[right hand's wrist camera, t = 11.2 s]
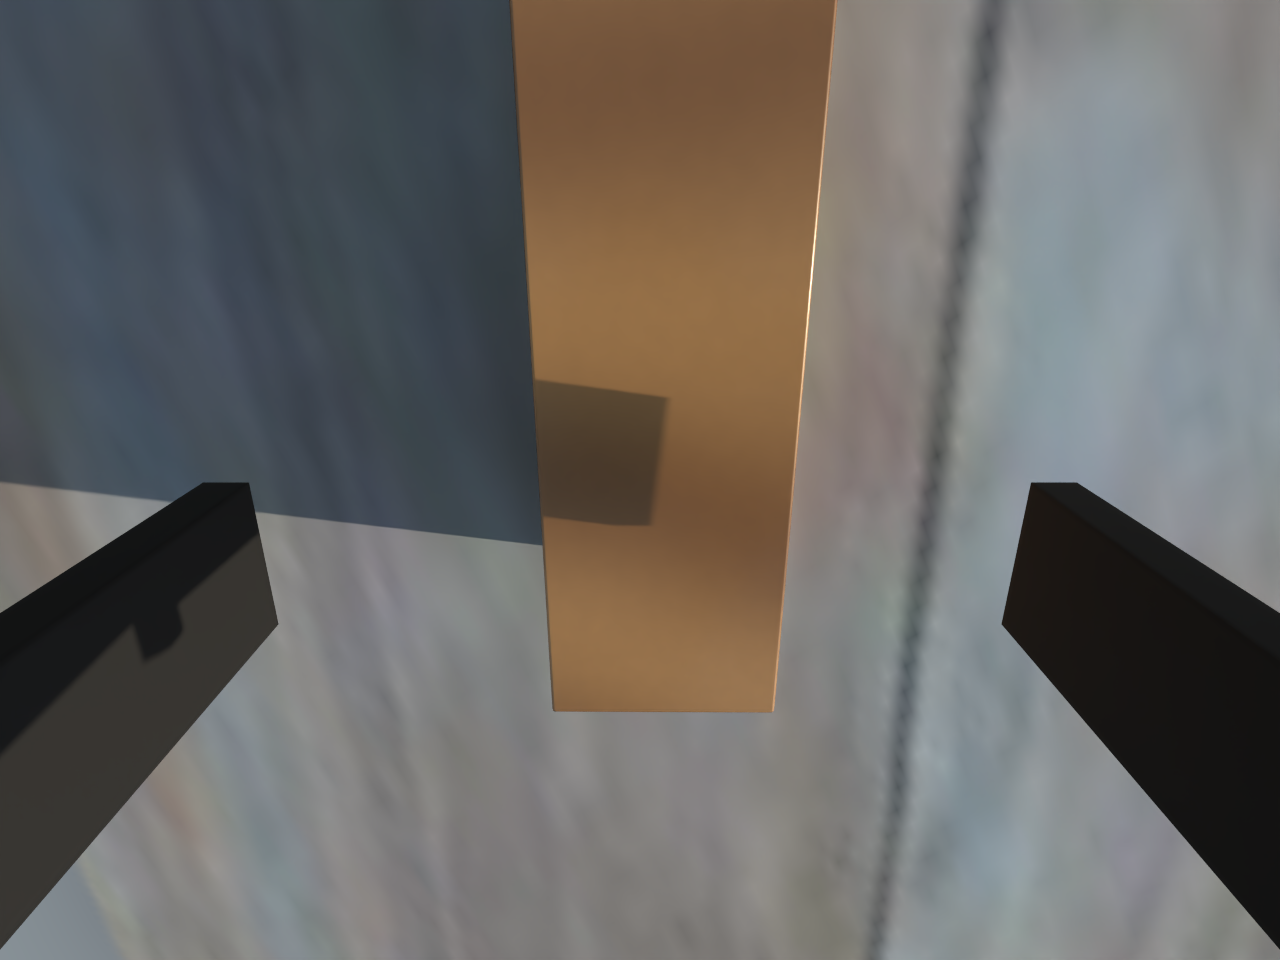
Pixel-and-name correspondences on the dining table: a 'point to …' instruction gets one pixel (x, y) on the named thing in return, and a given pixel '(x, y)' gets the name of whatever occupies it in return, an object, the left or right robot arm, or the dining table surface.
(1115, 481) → the dining table surface
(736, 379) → the beam
